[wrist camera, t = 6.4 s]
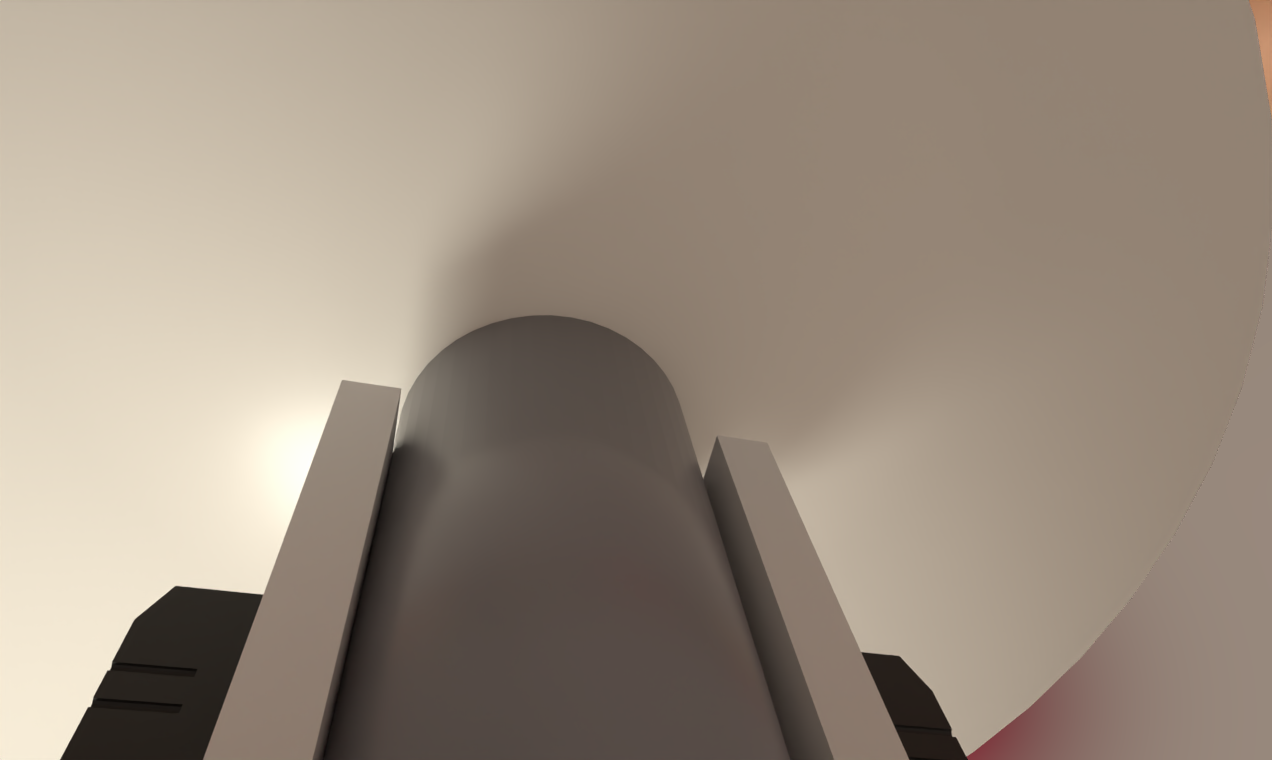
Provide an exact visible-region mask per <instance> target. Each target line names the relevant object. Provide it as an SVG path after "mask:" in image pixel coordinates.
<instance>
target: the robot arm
mask: <svg viewBox="0 0 1272 760" xmlns="http://www.w3.org/2000/svg"><path fill="white" fill-rule="evenodd" d="M400 395H401V388H395V387H388V386H381V385H374V384H368V383H361V382H354V381H347V380H342V381H341V384H340V387H339V389H338V392H337V395H336V398H335V400H334V403H333V406H332V408H331V411H330V414H329V417H328V419H327V422H326V425H325V428H324V430H323V433H322V436H321V439H320V441H319V444H318V447H317V449H316V452H315V455H314V458H313V460H312V463H311V466H310V469H309V471H308V474H307V477H306V480H305V482H304V485H303V488H302V490H301V493H300V496H299V499H298V501H297V504H296V507H295V510H294V512H293V515H292V518H291V521H290V523H289V526H288V529H287V531H286V534H285V537H284V540H283V542H282V545H281V548H280V551H279V553H278V556H277V559H276V562H275V564H274V567H273V570H272V572H271V575H270V578H269V581H268V583H267V586H266V589H265V592H264V594H253V593H243V592H233V591H223V590H213V589H203V588H193V587H183V586H175V587H173V588H172V589H171V590H170V591H169V592H167V593H166V594H165V595H164V596H162V597H161V598H160V599H159V600H158V601H156V602H155V603H154V604H153V605H151V606H150V607H149V608H148V609H147V610H145V611H144V612H143V613H142V614H140V615H139V616H138V617H137V618H136V619H134V621H133V623H132V625H131V627H130V629H129V631H128V633H127V634H126V636H125V638H124V640H123V642H122V644H121V646H120V648H119V650H118V651H117V653H116V655H115V657H114V659H113V661H112V666H111V669H110V670H107V672H106V674H105V676H104V678H103V680H102V682H101V683H100V685H99V687H98V689H97V691H96V693H95V695H94V697H93V701H92V705H91V707H88V708H87V710H86V712H85V714H84V716H83V717H82V719H81V721H80V723H79V725H78V727H77V729H76V731H75V732H74V734H73V736H72V738H71V740H70V742H69V744H68V746H67V748H66V749H65V751H64V753H63V755H62V757H61V759H60V760H323V757H324V752H325V748H326V743H327V739H328V735H329V730H330V726H331V721H332V717H333V713H334V708H335V704H336V700H337V695H338V691H339V686H340V682H341V678H342V673H343V669H344V664H345V660H346V656H347V651H348V647H349V642H350V638H351V634H352V629H353V625H354V621H355V616H356V612H357V607H358V603H359V599H360V594H361V590H362V585H363V581H364V577H365V572H366V568H367V563H368V559H369V555H370V550H371V546H372V542H373V537H374V533H375V528H376V524H377V520H378V515H379V511H380V506H381V502H382V498H383V493H384V489H385V484H386V480H387V476H388V471H389V467H390V462H391V458H392V454H393V447H394V439H395V432H396V425H397V417H398V410H399V403H400ZM703 480H704V483H705V486H706V489H707V493H708V496H709V499H710V502H711V506H712V509H713V512H714V515H715V518H716V522H717V525H718V528H719V531H720V534H721V538H722V541H723V544H724V547H725V550H726V554H727V557H728V560H729V563H730V566H731V570H732V573H733V576H734V579H735V583H736V586H737V589H738V592H739V595H740V599H741V602H742V605H743V608H744V611H745V615H746V618H747V621H748V624H749V627H750V631H751V634H752V637H753V640H754V643H755V647H756V650H757V653H758V656H759V659H760V663H761V666H762V669H763V672H764V676H765V679H766V682H767V685H768V688H769V692H770V695H771V698H772V701H773V704H774V708H775V711H776V714H777V717H778V720H779V724H780V727H781V730H782V733H783V736H784V740H785V743H786V746H787V749H788V753H789V756H790V759H791V760H968V759H967V757H966V755H965V753H964V751H963V749H962V748H961V746H960V744H959V742H958V740H957V738H956V737H952V728H951V726H950V724H949V722H948V720H947V718H946V716H945V715H944V713H943V711H942V709H941V707H940V705H939V703H938V701H937V699H936V697H935V695H934V693H933V691H932V690H931V689H930V688H929V687H928V686H927V685H926V684H925V683H924V681H923V680H922V679H921V678H920V677H919V676H918V675H917V674H916V673H915V672H914V671H913V670H912V669H911V668H910V667H909V666H908V665H907V664H906V662H905V661H904V660H903V659H902V658H901V657H900V656H895V655H886V654H876V653H866V652H861V651H860V649H859V646H858V644H857V642H856V640H855V637H854V635H853V633H852V631H851V629H850V626H849V624H848V622H847V620H846V617H845V615H844V613H843V611H842V608H841V606H840V604H839V602H838V599H837V597H836V595H835V593H834V591H833V588H832V586H831V584H830V582H829V579H828V577H827V575H826V573H825V570H824V568H823V566H822V564H821V561H820V559H819V557H818V555H817V553H816V550H815V548H814V546H813V544H812V541H811V539H810V537H809V535H808V532H807V530H806V528H805V526H804V523H803V521H802V519H801V517H800V515H799V512H798V510H797V508H796V506H795V503H794V501H793V499H792V497H791V494H790V492H789V490H788V488H787V486H786V483H785V481H784V479H783V477H782V474H781V472H780V470H779V468H778V465H777V463H776V461H775V459H774V456H773V454H772V452H771V450H770V448H769V445H768V443H766V442H759V441H752V440H745V439H739V438H732V437H725V436H719V435H717V437H716V440H715V443H714V446H713V450H712V453H711V456H710V459H709V462H708V466H707V469H706V472H705V475H704V478H703Z"/></svg>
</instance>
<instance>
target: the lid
mask: <svg viewBox="0 0 1272 760" xmlns="http://www.w3.org/2000/svg"><path fill="white" fill-rule="evenodd" d="M1271 232H1272V119H1271V113H1270V107H1269V101H1268V95H1267V89H1266V82H1265V76H1264V70H1263V64H1262V58H1261V52H1260V46H1259V40H1258V34H1257V28H1256V22H1255V18H1254V15H1253V12H1252V9H1251V6H1250V3H1249V0H0V760H60V759H61V757H62V755H63V753H64V751H65V749H66V748H67V746H68V744H69V742H70V740H71V738H72V736H73V734H74V732H75V731H76V729H77V727H78V725H79V723H80V721H81V719H82V717H83V716H84V714H85V712H86V710H87V708H88V707H91V705H92V701H93V697H94V695H95V693H96V691H97V689H98V687H99V685H100V683H101V682H102V680H103V678H104V676H105V674H106V672H107V670H110V669H111V666H112V661H113V659H114V657H115V655H116V653H117V651H118V650H119V648H120V646H121V644H122V642H123V640H124V638H125V636H126V634H127V633H128V631H129V629H130V627H131V625H132V623H133V621H134V619H136V618H137V617H138V616H139V615H140V614H142V613H143V612H144V611H145V610H147V609H148V608H149V607H150V606H151V605H153V604H154V603H155V602H156V601H158V600H159V599H160V598H161V597H162V596H164V595H165V594H166V593H167V592H169V591H170V590H171V589H172V588H173V587H175V586H183V587H193V588H203V589H213V590H223V591H233V592H243V593H253V594H264V592H265V589H266V586H267V583H268V581H269V578H270V575H271V572H272V570H273V567H274V564H275V562H276V559H277V556H278V553H279V551H280V548H281V545H282V542H283V540H284V537H285V534H286V531H287V529H288V526H289V523H290V521H291V518H292V515H293V512H294V510H295V507H296V504H297V501H298V499H299V496H300V493H301V490H302V488H303V485H304V482H305V480H306V477H307V474H308V471H309V469H310V466H311V463H312V460H313V458H314V455H315V452H316V449H317V447H318V444H319V441H320V439H321V436H322V433H323V430H324V428H325V425H326V422H327V419H328V417H329V414H330V411H331V408H332V406H333V403H334V400H335V398H336V395H337V392H338V389H339V387H340V384H341V381H342V380H347V381H354V382H361V383H368V384H374V385H381V386H388V387H395V388H401V395H400V403H399V410H398V417H397V425H396V432H395V439H394V447H393V454H392V458H391V462H390V467H389V471H388V476H387V480H386V484H385V489H384V493H383V498H382V502H381V506H380V511H379V515H378V520H377V524H376V528H375V533H374V537H373V542H372V546H371V550H370V555H369V559H368V563H367V568H366V572H365V577H364V581H363V585H362V590H361V594H360V599H359V603H358V607H357V612H356V616H355V621H354V625H353V629H352V634H351V638H350V642H349V647H348V651H347V656H346V660H345V664H344V669H343V673H342V678H341V682H340V686H339V691H338V695H337V700H336V704H335V708H334V713H333V717H332V721H331V726H330V730H329V735H328V739H327V743H326V748H325V752H324V757H323V760H791V759H790V756H789V753H788V749H787V746H786V743H785V740H784V736H783V733H782V730H781V727H780V724H779V720H778V717H777V714H776V711H775V708H774V704H773V701H772V698H771V695H770V692H769V688H768V685H767V682H766V679H765V676H764V672H763V669H762V666H761V663H760V659H759V656H758V653H757V650H756V647H755V643H754V640H753V637H752V634H751V631H750V627H749V624H748V621H747V618H746V615H745V611H744V608H743V605H742V602H741V599H740V595H739V592H738V589H737V586H736V583H735V579H734V576H733V573H732V570H731V566H730V563H729V560H728V557H727V554H726V550H725V547H724V544H723V541H722V538H721V534H720V531H719V528H718V525H717V522H716V518H715V515H714V512H713V509H712V506H711V502H710V499H709V496H708V493H707V489H706V486H705V483H704V480H703V478H704V475H705V472H706V469H707V466H708V462H709V459H710V456H711V453H712V450H713V446H714V443H715V440H716V437H717V435H719V436H725V437H732V438H739V439H745V440H752V441H759V442H766V443H768V445H769V448H770V450H771V452H772V454H773V456H774V459H775V461H776V463H777V465H778V468H779V470H780V472H781V474H782V477H783V479H784V481H785V483H786V486H787V488H788V490H789V492H790V494H791V497H792V499H793V501H794V503H795V506H796V508H797V510H798V512H799V515H800V517H801V519H802V521H803V523H804V526H805V528H806V530H807V532H808V535H809V537H810V539H811V541H812V544H813V546H814V548H815V550H816V553H817V555H818V557H819V559H820V561H821V564H822V566H823V568H824V570H825V573H826V575H827V577H828V579H829V582H830V584H831V586H832V588H833V591H834V593H835V595H836V597H837V599H838V602H839V604H840V606H841V608H842V611H843V613H844V615H845V617H846V620H847V622H848V624H849V626H850V629H851V631H852V633H853V635H854V637H855V640H856V642H857V644H858V646H859V649H860V651H861V652H866V653H876V654H886V655H895V656H900V657H901V658H902V659H903V660H904V661H905V662H906V664H907V665H908V666H909V667H910V668H911V669H912V670H913V671H914V672H915V673H916V674H917V675H918V676H919V677H920V678H921V679H922V680H923V681H924V683H925V684H926V685H927V686H928V687H929V688H930V689H931V690H932V691H933V693H934V695H935V697H936V699H937V701H938V703H939V705H940V707H941V709H942V711H943V713H944V715H945V716H946V718H947V720H948V722H949V724H950V726H951V728H952V737H956V738H957V740H958V742H959V744H960V746H961V748H962V749H963V751H964V753H965V755H966V756H968V755H969V754H971V753H972V752H974V751H975V750H976V749H978V748H979V747H980V746H981V745H983V744H984V743H985V742H986V741H987V740H989V739H990V738H991V737H993V736H994V735H995V734H996V733H997V732H999V731H1000V730H1001V729H1003V728H1004V727H1005V726H1006V725H1008V724H1009V723H1010V722H1011V721H1013V720H1014V719H1015V718H1016V717H1018V716H1019V715H1020V714H1021V713H1023V712H1024V711H1025V710H1027V709H1028V708H1029V707H1030V706H1031V705H1032V704H1033V703H1034V702H1035V701H1036V700H1037V699H1039V698H1040V697H1041V696H1042V695H1043V694H1044V693H1045V692H1046V691H1047V690H1048V689H1049V688H1050V687H1051V686H1052V685H1053V684H1054V683H1055V682H1056V681H1057V680H1058V679H1059V678H1060V677H1061V676H1062V675H1063V674H1064V673H1065V672H1066V671H1068V670H1069V669H1070V668H1071V667H1072V666H1073V665H1074V664H1075V663H1076V662H1077V661H1078V660H1079V659H1080V658H1081V657H1082V656H1083V655H1084V654H1085V653H1086V651H1087V650H1088V649H1089V648H1090V647H1091V646H1092V644H1093V643H1094V642H1095V641H1096V640H1097V639H1098V637H1099V636H1100V635H1101V634H1102V633H1103V631H1104V630H1105V629H1106V628H1107V627H1108V626H1109V624H1110V623H1111V622H1112V621H1113V620H1114V618H1115V617H1116V616H1117V615H1118V614H1119V612H1120V611H1121V610H1122V609H1123V608H1124V606H1125V605H1126V604H1127V603H1128V602H1129V601H1130V600H1131V598H1132V597H1133V595H1134V594H1135V593H1136V591H1137V590H1138V588H1139V587H1140V585H1141V584H1142V582H1143V581H1144V579H1145V578H1146V576H1147V575H1148V573H1149V572H1150V571H1151V569H1152V568H1153V566H1154V565H1155V563H1156V562H1157V560H1158V559H1159V557H1160V556H1161V554H1162V553H1163V552H1164V550H1165V549H1166V547H1167V546H1168V544H1169V543H1170V541H1171V540H1172V538H1173V537H1174V535H1175V534H1176V532H1177V530H1178V528H1179V526H1180V524H1181V522H1182V520H1183V519H1184V517H1185V515H1186V513H1187V511H1188V509H1189V507H1190V505H1191V503H1192V502H1193V500H1194V498H1195V496H1196V494H1197V492H1198V490H1199V488H1200V486H1201V485H1202V483H1203V481H1204V479H1205V477H1206V475H1207V473H1208V471H1209V470H1210V468H1211V466H1212V464H1213V461H1214V458H1215V456H1216V453H1217V451H1218V448H1219V446H1220V443H1221V441H1222V438H1223V435H1224V433H1225V430H1226V427H1227V425H1228V423H1229V420H1230V417H1231V415H1232V412H1233V410H1234V407H1235V404H1236V402H1237V399H1238V397H1239V394H1240V392H1241V389H1242V386H1243V382H1244V378H1245V374H1246V370H1247V366H1248V362H1249V358H1250V354H1251V350H1252V346H1253V342H1254V339H1255V334H1256V330H1257V326H1258V322H1259V318H1260V315H1261V310H1262V306H1263V301H1264V292H1265V284H1266V276H1267V275H1266V274H1267V267H1268V259H1269V250H1270V242H1271Z"/></svg>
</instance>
